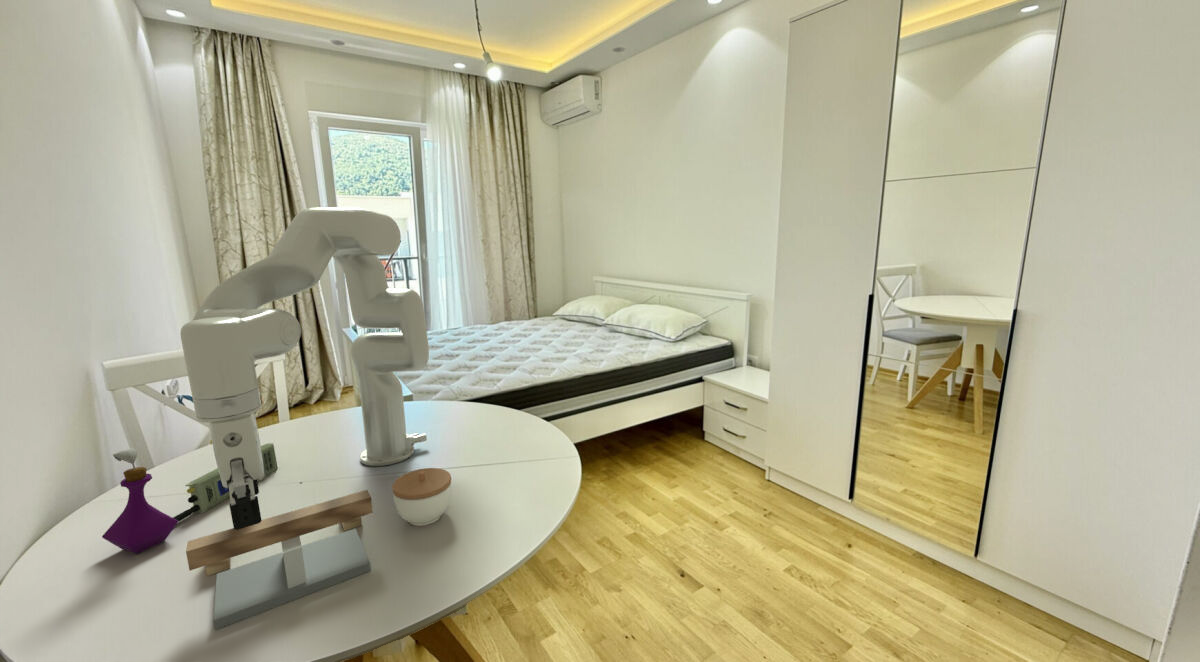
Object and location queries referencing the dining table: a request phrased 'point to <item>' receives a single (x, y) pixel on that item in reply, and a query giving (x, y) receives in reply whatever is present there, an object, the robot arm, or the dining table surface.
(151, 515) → the purple potion bottle
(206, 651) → the dining table surface
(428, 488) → the lidded jar
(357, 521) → the bar rest
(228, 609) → the stand
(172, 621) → the dining table surface
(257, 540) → the walnut bar
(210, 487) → the handheld radio
